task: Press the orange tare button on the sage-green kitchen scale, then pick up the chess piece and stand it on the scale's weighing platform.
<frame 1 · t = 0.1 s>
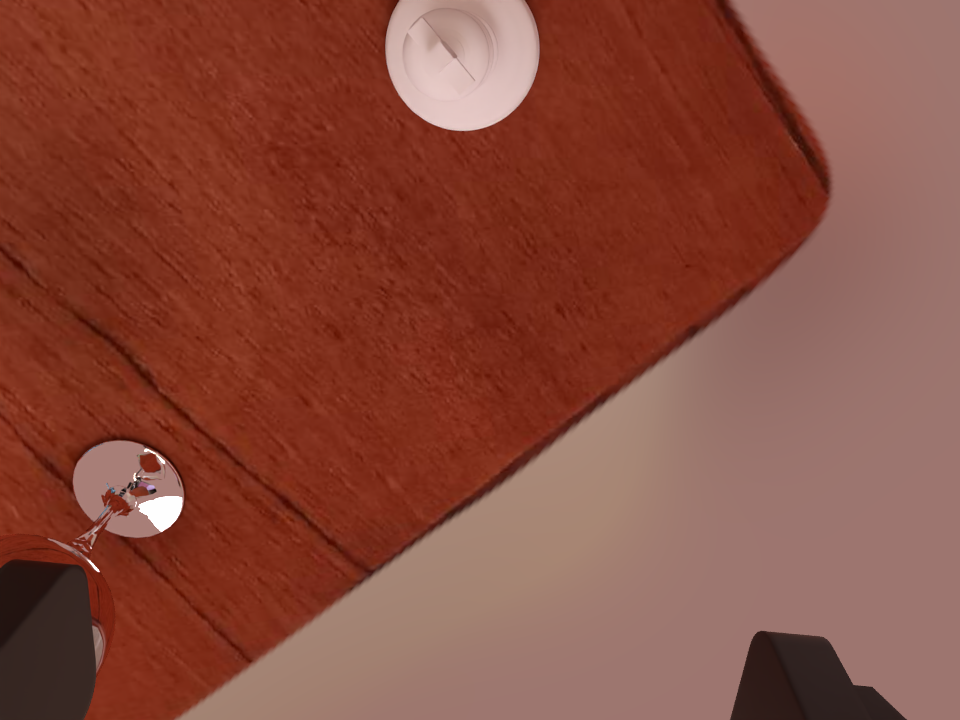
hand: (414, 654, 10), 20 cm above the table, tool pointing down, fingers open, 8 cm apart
chess piece: (462, 51, 26), on the table
wineglass: (131, 486, 33), on the table
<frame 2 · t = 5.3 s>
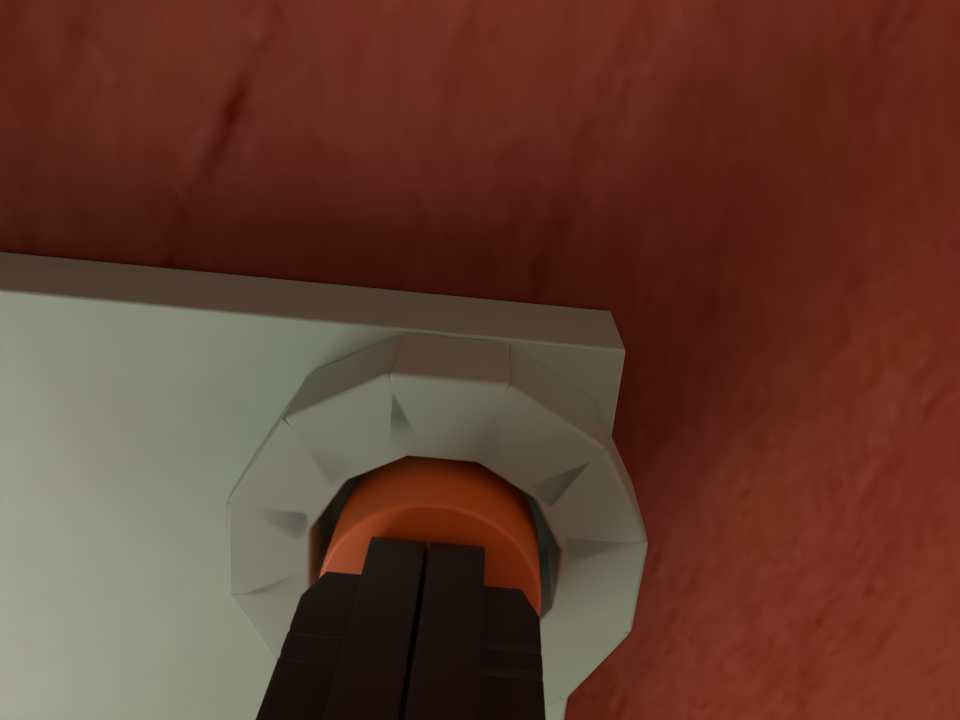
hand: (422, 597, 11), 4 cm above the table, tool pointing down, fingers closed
tare button: (433, 566, 12), point 3 cm above the table, slide at -0.3 cm, touching gripper
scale: (259, 614, 16), on the table
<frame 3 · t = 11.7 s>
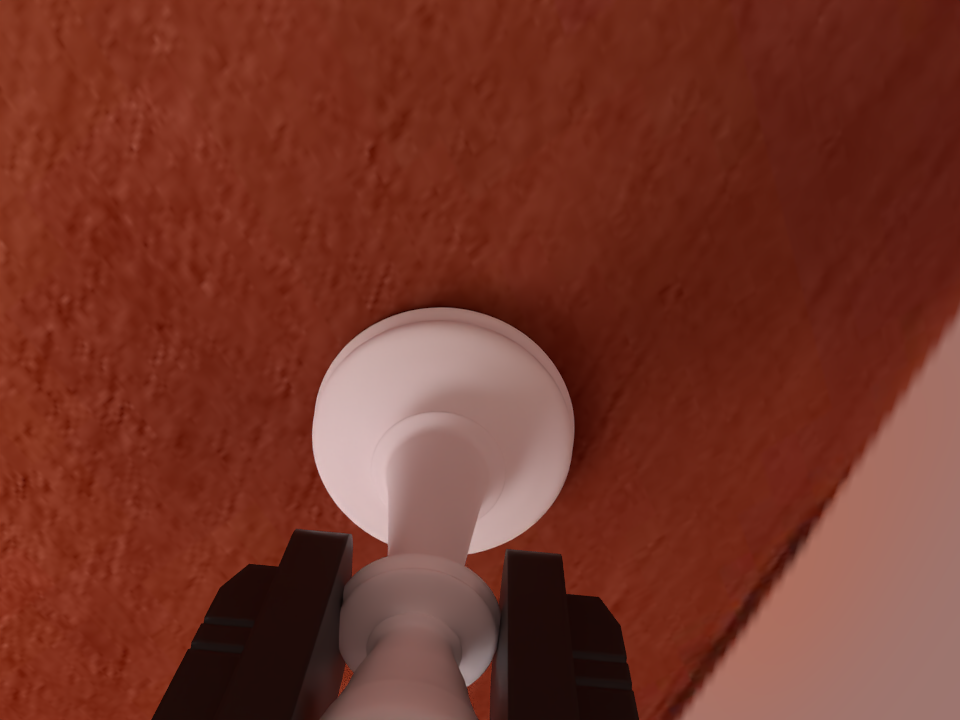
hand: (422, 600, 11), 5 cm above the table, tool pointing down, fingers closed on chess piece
chess piece: (444, 425, 16), on the table, touching gripper
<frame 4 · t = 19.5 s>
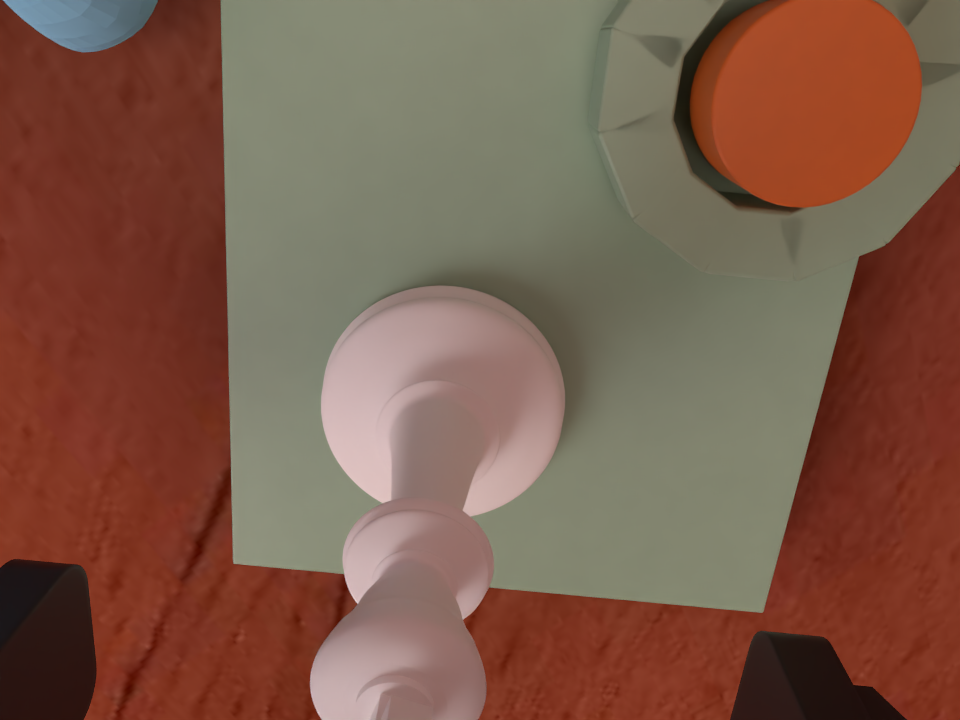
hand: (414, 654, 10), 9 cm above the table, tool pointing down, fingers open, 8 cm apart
tare button: (798, 100, 12), point 4 cm above the table, slide at 0.1 cm
chess piece: (444, 396, 17), point 2 cm above the table, touching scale
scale: (532, 265, 18), on the table
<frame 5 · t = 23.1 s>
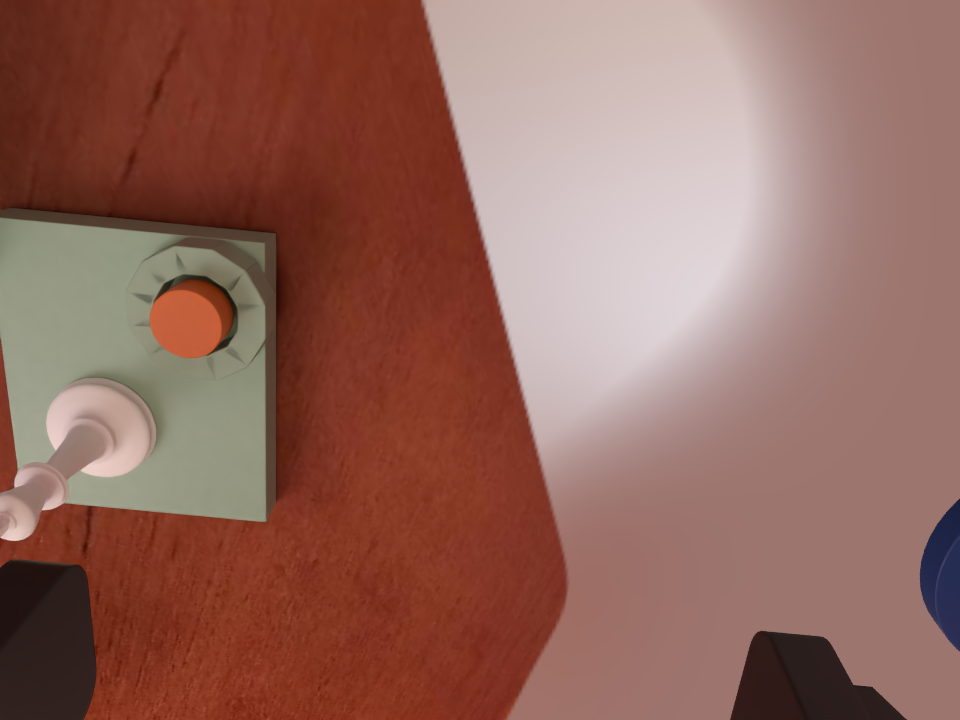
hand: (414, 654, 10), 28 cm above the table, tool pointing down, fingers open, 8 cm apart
tare button: (192, 318, 34), point 4 cm above the table, slide at 0.1 cm
chess piece: (106, 423, 39), point 2 cm above the table, touching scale
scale: (151, 364, 39), on the table
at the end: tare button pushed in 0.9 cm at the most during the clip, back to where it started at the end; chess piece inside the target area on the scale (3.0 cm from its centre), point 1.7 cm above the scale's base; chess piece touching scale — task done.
